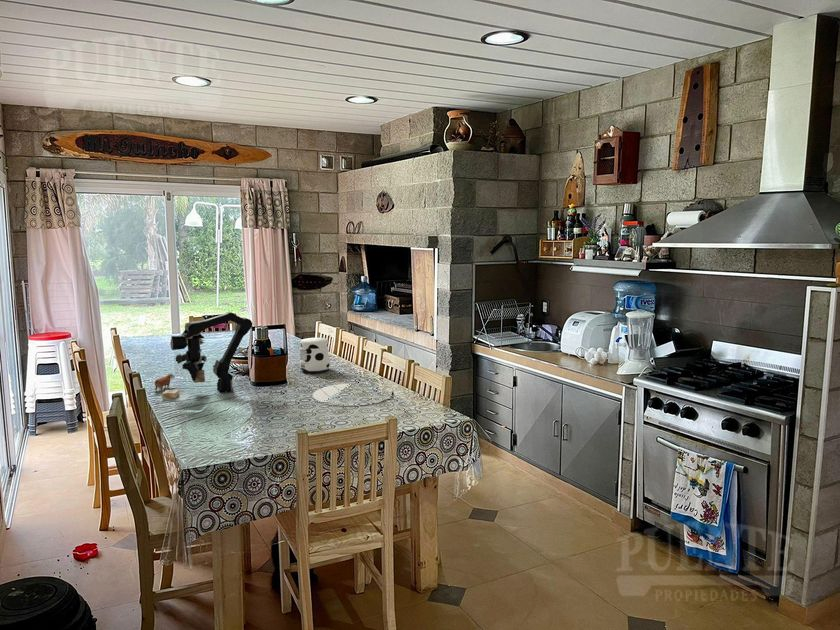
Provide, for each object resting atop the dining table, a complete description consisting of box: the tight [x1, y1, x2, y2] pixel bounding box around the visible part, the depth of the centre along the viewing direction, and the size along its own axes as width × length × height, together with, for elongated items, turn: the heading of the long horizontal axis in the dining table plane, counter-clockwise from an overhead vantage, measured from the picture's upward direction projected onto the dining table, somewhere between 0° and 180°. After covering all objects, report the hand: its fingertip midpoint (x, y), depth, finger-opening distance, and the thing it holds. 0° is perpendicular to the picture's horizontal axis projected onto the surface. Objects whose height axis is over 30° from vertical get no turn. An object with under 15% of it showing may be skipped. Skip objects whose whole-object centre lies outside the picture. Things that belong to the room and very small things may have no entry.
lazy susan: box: [312, 381, 392, 402], centre depth 298 cm, size 40×39×3 cm
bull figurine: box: [154, 372, 176, 392], centre depth 306 cm, size 4×13×8 cm, turn 164°
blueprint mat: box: [158, 394, 191, 402], centre depth 291 cm, size 12×10×1 cm
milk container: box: [299, 337, 331, 373], centre depth 347 cm, size 17×17×18 cm
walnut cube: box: [193, 369, 206, 384], centre depth 297 cm, size 5×5×5 cm
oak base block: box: [161, 389, 181, 400], centre depth 290 cm, size 6×6×3 cm
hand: (195, 379), depth 297 cm, fingers closed on walnut cube, 5 cm apart
